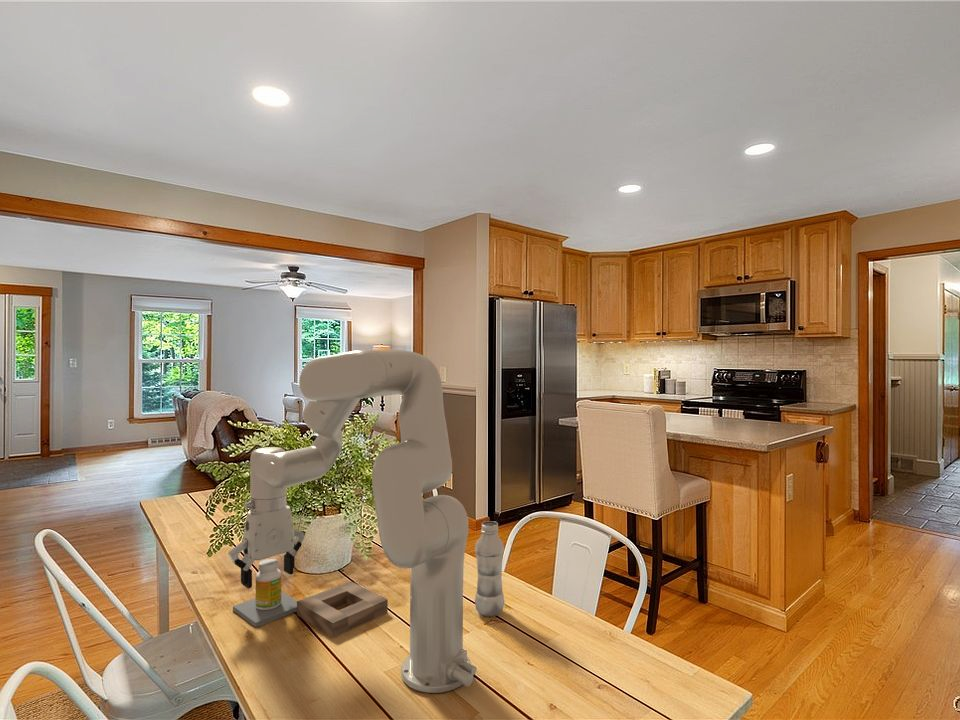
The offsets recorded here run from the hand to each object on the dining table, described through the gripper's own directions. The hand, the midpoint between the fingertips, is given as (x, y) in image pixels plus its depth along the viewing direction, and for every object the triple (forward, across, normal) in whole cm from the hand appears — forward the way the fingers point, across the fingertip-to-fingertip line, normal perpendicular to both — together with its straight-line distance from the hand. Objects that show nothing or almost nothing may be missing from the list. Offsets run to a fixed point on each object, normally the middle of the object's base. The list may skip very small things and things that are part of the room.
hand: (268, 579), depth 118 cm
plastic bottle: (+7, +32, -38) cm, 50 cm away
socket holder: (+7, +10, -14) cm, 18 cm away
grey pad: (+7, 0, 0) cm, 7 cm away
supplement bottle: (+6, 0, 0) cm, 6 cm away
